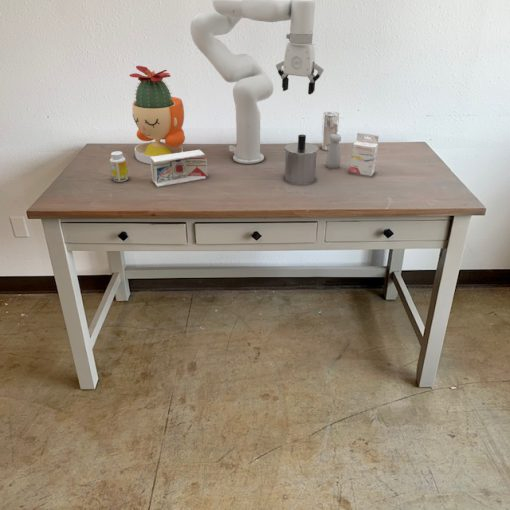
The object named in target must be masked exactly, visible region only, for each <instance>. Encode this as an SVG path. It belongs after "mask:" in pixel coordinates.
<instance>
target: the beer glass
mask: <svg viewBox="0 0 510 510" xmlns="http://www.w3.org/2000/svg"><path fill="white" fill-rule="evenodd" d="M321 122H322V123H321V133H322V143H321V150H322V151H326V152H328V151H329V147H330V143H331V141H330V135H332V134H338V132H339V128H340V127H339V126H340V125H339V124H340V113H339V112H337V111H324V112H323V114H322V121H321Z"/></svg>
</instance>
